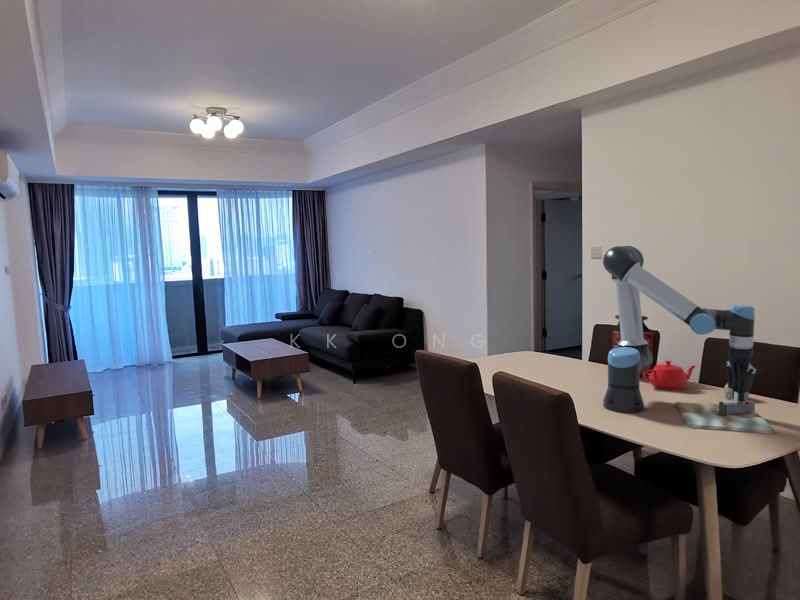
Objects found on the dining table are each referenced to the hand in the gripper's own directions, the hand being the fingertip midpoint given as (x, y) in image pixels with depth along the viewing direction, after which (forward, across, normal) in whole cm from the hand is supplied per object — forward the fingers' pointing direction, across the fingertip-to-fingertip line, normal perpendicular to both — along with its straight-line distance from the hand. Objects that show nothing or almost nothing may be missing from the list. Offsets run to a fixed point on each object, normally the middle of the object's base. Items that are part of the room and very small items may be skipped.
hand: (737, 408), depth 197 cm
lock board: (+3, +1, -8) cm, 9 cm away
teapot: (+3, -42, +6) cm, 42 cm away
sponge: (+3, -18, +18) cm, 26 cm away
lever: (+1, +2, -2) cm, 3 cm away
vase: (+4, -66, +5) cm, 66 cm away
